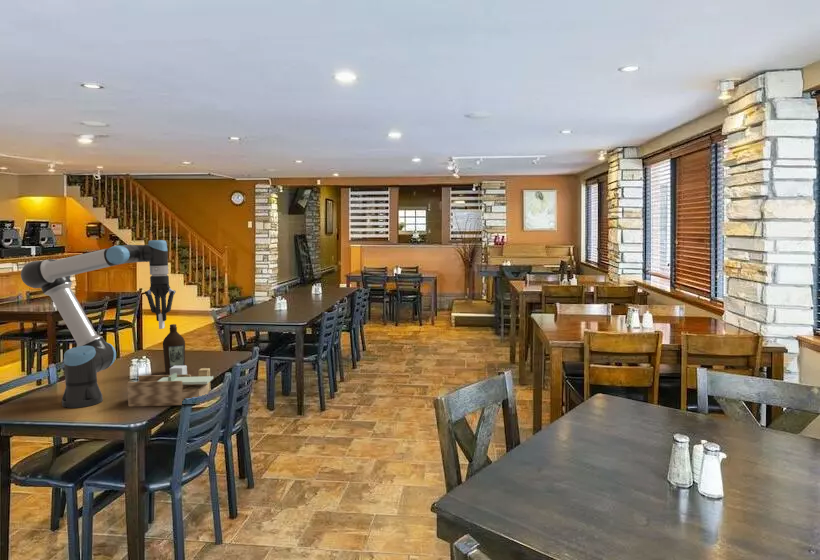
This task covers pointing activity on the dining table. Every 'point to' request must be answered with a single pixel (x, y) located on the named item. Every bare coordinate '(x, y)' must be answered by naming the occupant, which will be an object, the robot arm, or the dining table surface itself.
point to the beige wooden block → (205, 373)
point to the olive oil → (173, 349)
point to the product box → (179, 370)
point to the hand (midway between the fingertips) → (161, 328)
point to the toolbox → (162, 391)
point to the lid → (188, 379)
